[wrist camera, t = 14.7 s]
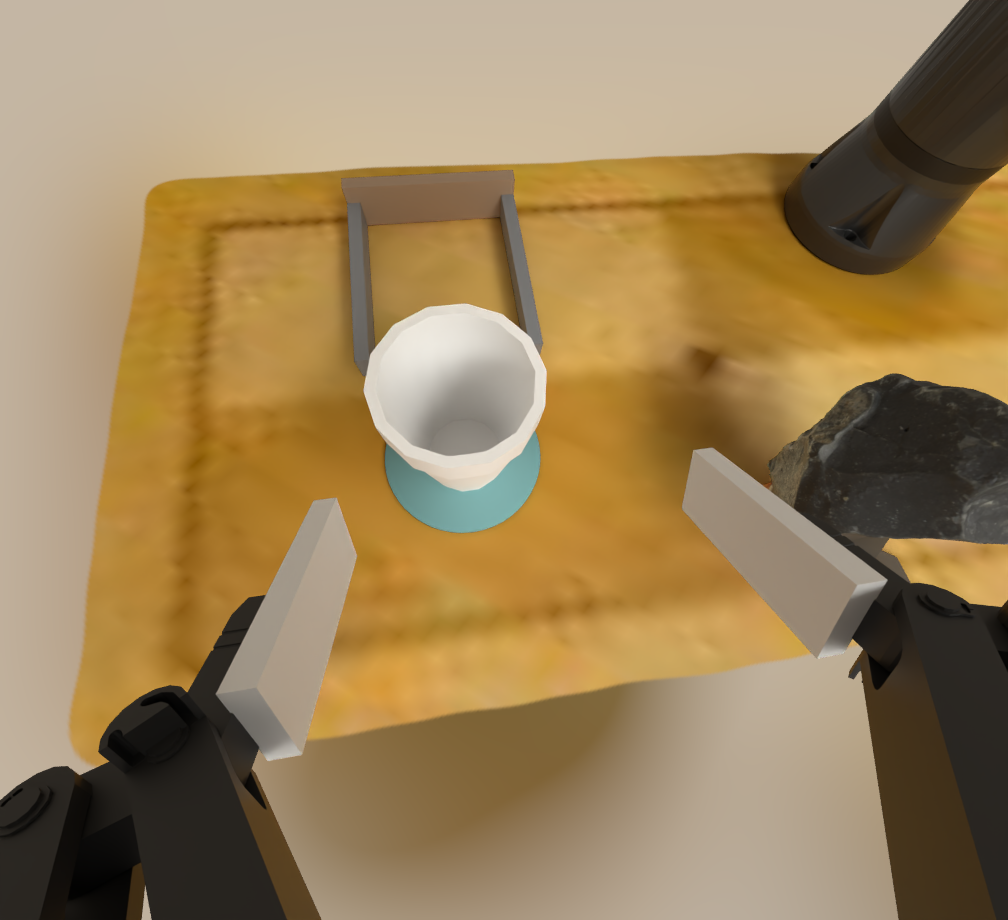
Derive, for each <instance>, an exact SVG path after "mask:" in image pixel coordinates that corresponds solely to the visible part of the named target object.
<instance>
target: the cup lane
mask: <svg viewBox="0 0 1008 920" xmlns="http://www.w3.org/2000/svg"><path fill="white" fill-rule="evenodd" d="M341 180H342V190H343V193H344V196H345V199H346V201H347V209H348V231H349V254H350V276H351V298H352V320H353V343H354V362H355V363H356V365H357V367H358V368H359V370H360V372H361V373H362V375H363V376H366V375H367V369H368V364H369V359H370V354H371V353H372V351H373V350H374V349H375V337H374V321H373V305H372V289H371V273H370V257H369V241H368V225H383V224H399V223H416V222H432V221H448V220H465V219H481V218H498V217H500V220H501V225H502V231H503V236H504V242H505V247H506V253H507V258H508V264H509V269H510V275H511V280H512V285H513V291H514V296H515V302H516V307H517V313H518V318H519V324H520V329H521V330H522V331H524V332H525V333H526V334H527V335H528V336H530V337H531V339H532V341H533V343H534V345H535V347H536V349H537V351H538V353H539V355H540V352H541V349H542V345H543V341H542V336H541V331H540V326H539V321H538V316H537V311H536V306H535V301H534V296H533V291H532V286H531V281H530V276H529V271H528V266H527V260H526V255H525V250H524V245H523V240H522V235H521V230H520V225H519V220H518V215H517V210H516V205H515V200H514V195H513V192H514V181H515V179H514V174H513V170H502V171H481V172H461V173H440V174H420V175H399V176H379V177H358V178H341Z"/></svg>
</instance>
